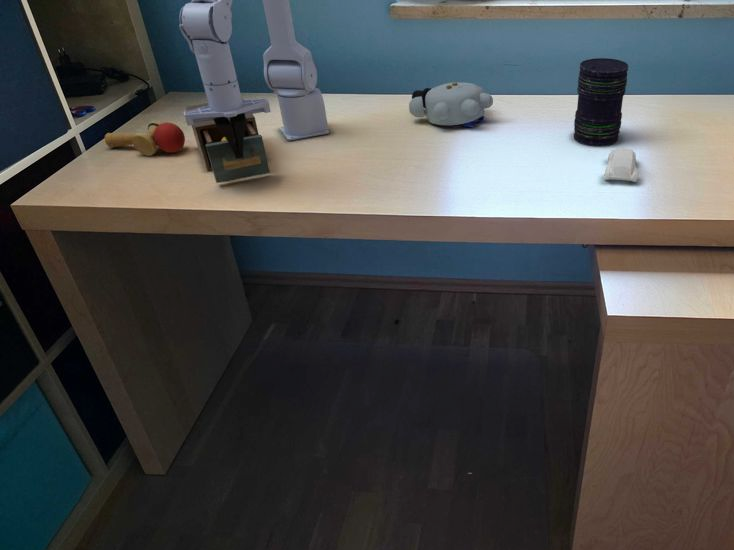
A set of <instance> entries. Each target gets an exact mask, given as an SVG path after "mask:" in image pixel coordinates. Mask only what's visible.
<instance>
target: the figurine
mask: <svg viewBox="0 0 734 550" xmlns="http://www.w3.org/2000/svg"><path fill="white" fill-rule="evenodd" d="M493 104H494V98H493V97H492V95H491V94H489V93H486V92H485V89H484V88H482V87H481V86H479V85H477V84H475V83H471V82H464V81H463V82H461V81H459V82H458V81H453V82H447V83H444V84H440V85H437V86H435V87H433V88H431V87H426V88H424V89H423V90H420V89H416V90H414V91H413V92H412V95H411V100H410V101H409V103H408V109H409V110H408V111H409V113H410V115H411V116H413V117H415V118H424V117H425V114H426V118H427V121H428V122H429V123H430V124H433V125H438V126H457V125H462V126H463V127H465V128H466V127H467V128H472V127H473V126H474V124H475V123H477V122H484V121H485V116H484V113H485V109H490V108H491V107H492V106H493Z"/></svg>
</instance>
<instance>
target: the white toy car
mask: <svg viewBox="0 0 734 550" xmlns="http://www.w3.org/2000/svg"><path fill="white" fill-rule="evenodd" d="M636 161H637V155H636V152H635V151H634V149H631V148H626V147H622V148H621V147H617V148H616V147H615V148H614V149H611V151H610V152H609V153H608V156H607V165H606V167H605V171H604V175H603V176H604V181H610V180H614V181H615V180H621V181H627V182H628V181H629V182H632V183H637V182H638V178H639V169H638V167H637V166H636Z"/></svg>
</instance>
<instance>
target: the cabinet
mask: <svg viewBox="0 0 734 550" xmlns="http://www.w3.org/2000/svg"><path fill="white" fill-rule="evenodd" d="M242 100H244V99H243V98H242ZM208 105H209V104H208V102H207V103H199V104H194V105H187V106H186V107H185V108H186V111H189V110H193V109H197V108H201V107H204V106H208ZM245 118H246V119H247V122H249V123H250V124H251V126H252V128H253V129H254V131H255V132H256V134H257V135H260V134H259V130H258V126H257V125H258V124H257V120H256V117H255V115H254V114H248V115H245ZM228 119H229V118H228ZM229 121H230V119H229ZM230 124H231V122H230ZM214 127H217V126H216V124H215V122H214V120H212V121H206V122H200V123H194V125H191V128H192V132H193V135H194V139H195V143H196V145H197V149H198V152H199V153H200V156H201V158H202V159H201V160H202V161H203V163H204V166H205V168H206V171H207V172H210V171H213V170H212V166H211V163H210V159H209V156H208V152H207V149H206V145H205V141H204V137H203V134H202V129H208V128H214Z"/></svg>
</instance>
